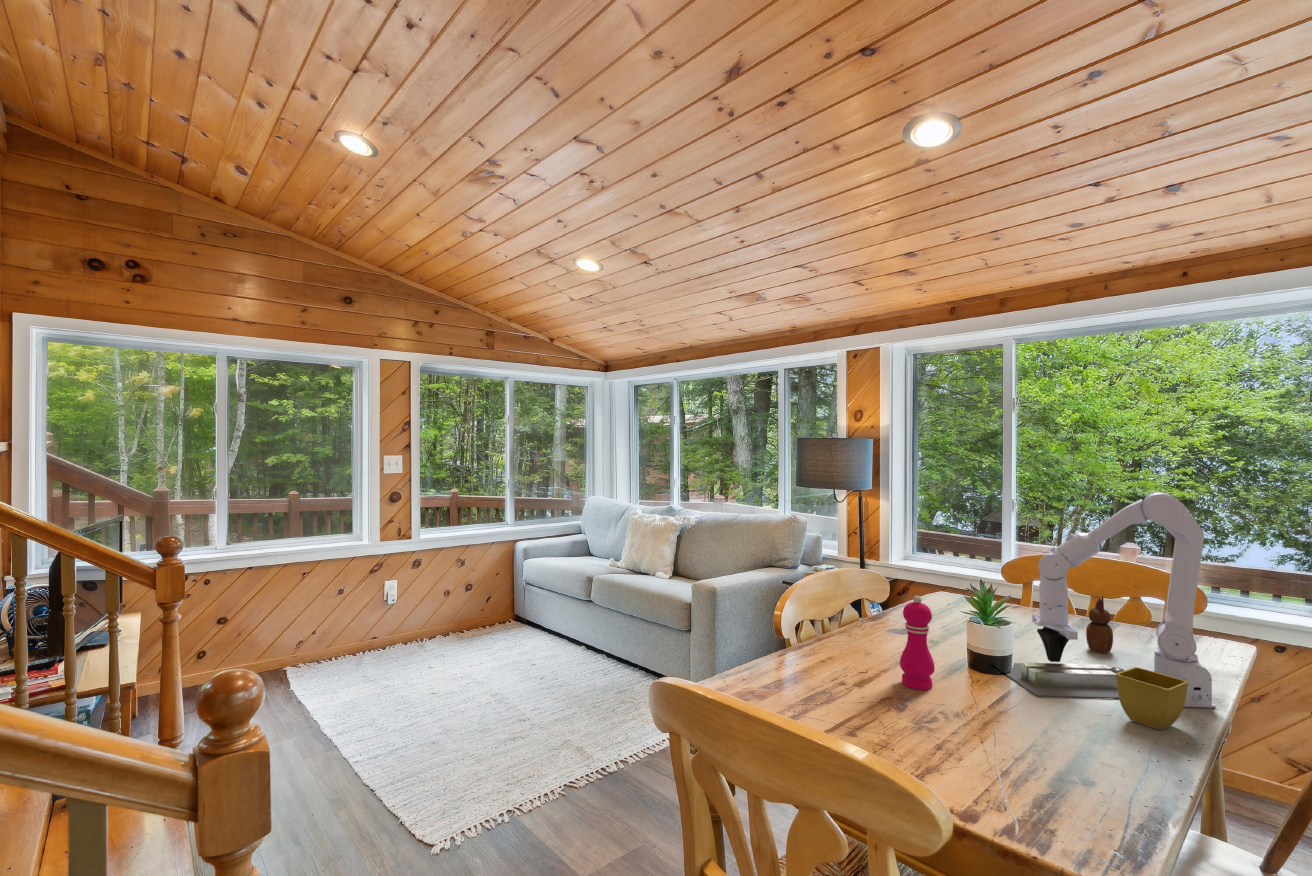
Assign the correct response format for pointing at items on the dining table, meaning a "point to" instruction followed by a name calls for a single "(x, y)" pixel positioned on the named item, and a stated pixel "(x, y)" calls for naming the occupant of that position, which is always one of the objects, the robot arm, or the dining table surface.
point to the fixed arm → (1072, 678)
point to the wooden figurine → (1099, 629)
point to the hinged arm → (1066, 667)
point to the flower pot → (1151, 697)
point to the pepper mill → (917, 647)
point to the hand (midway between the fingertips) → (1053, 660)
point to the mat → (1061, 688)
